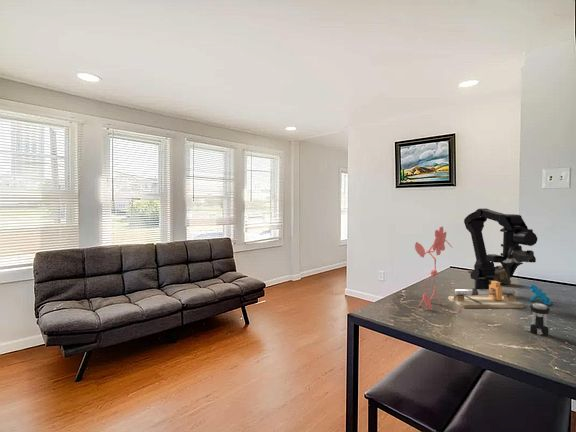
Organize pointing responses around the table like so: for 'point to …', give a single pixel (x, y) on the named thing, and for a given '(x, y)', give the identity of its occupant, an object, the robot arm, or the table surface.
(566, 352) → the table surface
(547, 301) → the gear
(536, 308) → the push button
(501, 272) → the brown carved figurine
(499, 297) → the collar
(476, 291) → the tube stand
